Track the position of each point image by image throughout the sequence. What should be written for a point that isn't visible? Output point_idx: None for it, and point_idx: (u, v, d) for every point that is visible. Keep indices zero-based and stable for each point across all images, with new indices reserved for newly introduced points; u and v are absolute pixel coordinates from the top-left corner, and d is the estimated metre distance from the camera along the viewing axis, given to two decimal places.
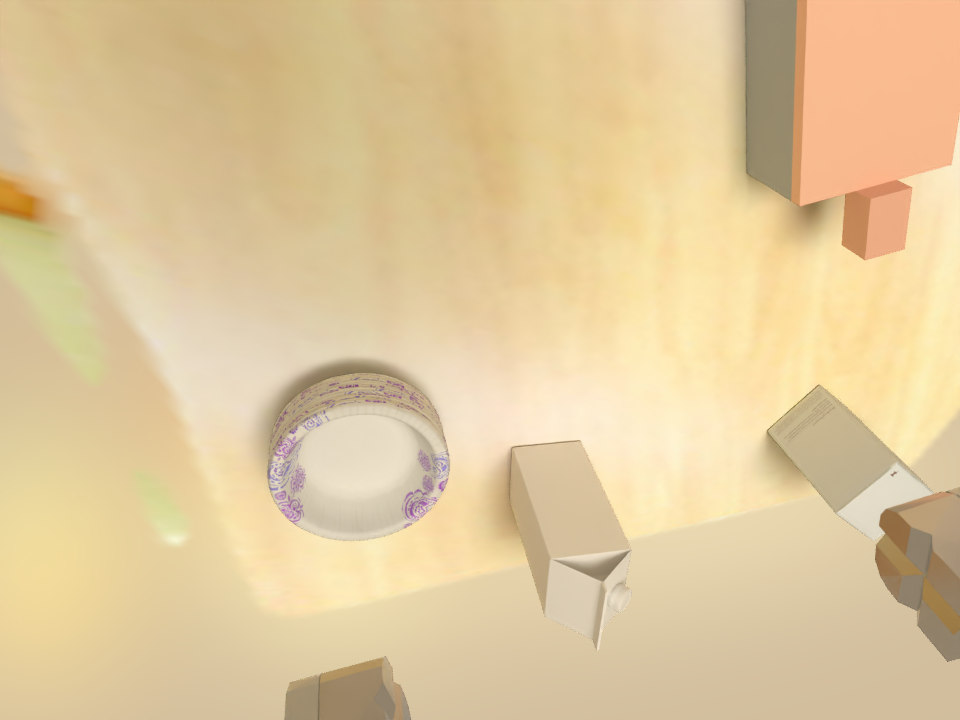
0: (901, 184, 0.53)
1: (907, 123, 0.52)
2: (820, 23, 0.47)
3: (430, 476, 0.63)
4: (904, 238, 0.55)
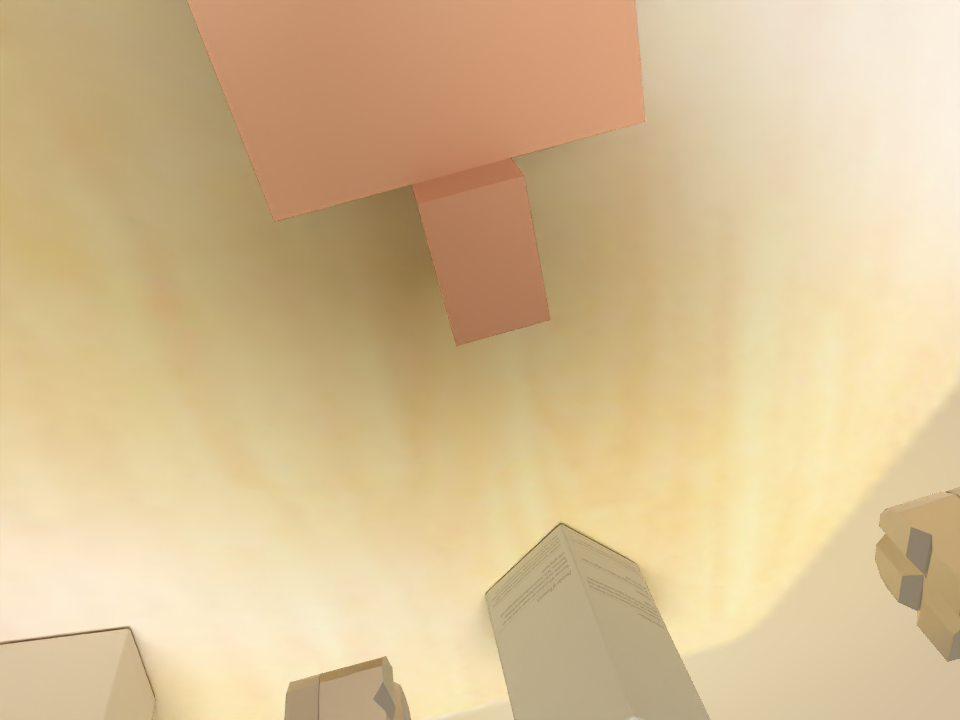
0: (508, 169, 0.22)
1: (495, 12, 0.20)
2: None
3: None
4: (541, 297, 0.23)
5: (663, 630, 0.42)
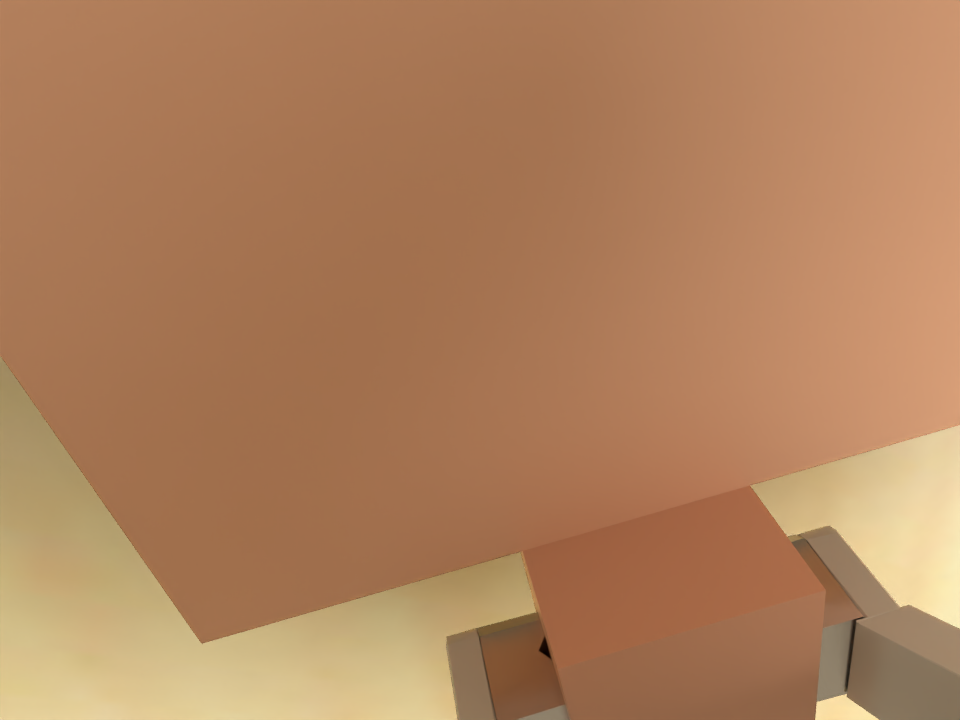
0: (766, 543, 0.09)
1: (780, 189, 0.08)
2: None
3: None
4: None
5: None
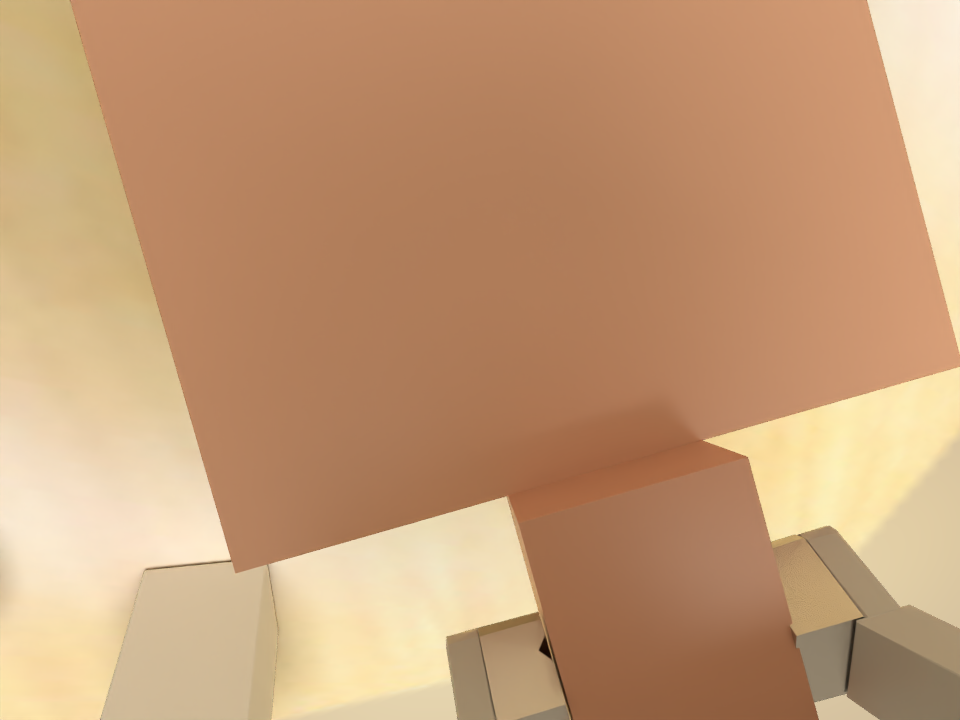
0: (706, 453, 0.11)
1: (654, 180, 0.11)
2: None
3: None
4: None
5: None
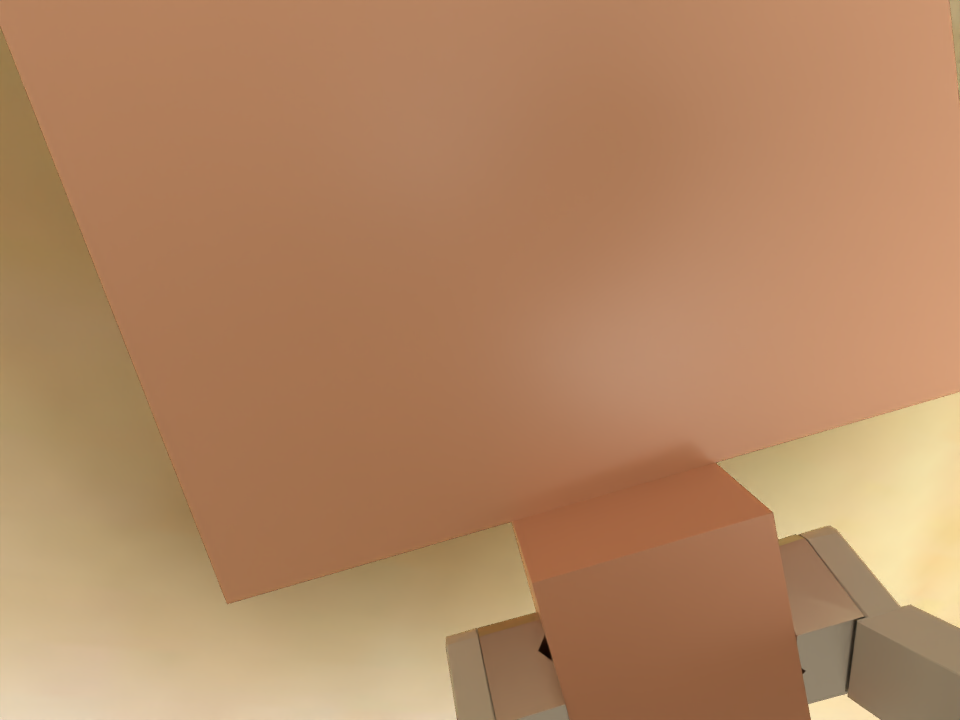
0: (724, 491, 0.10)
1: (685, 183, 0.10)
2: None
3: None
4: None
5: None
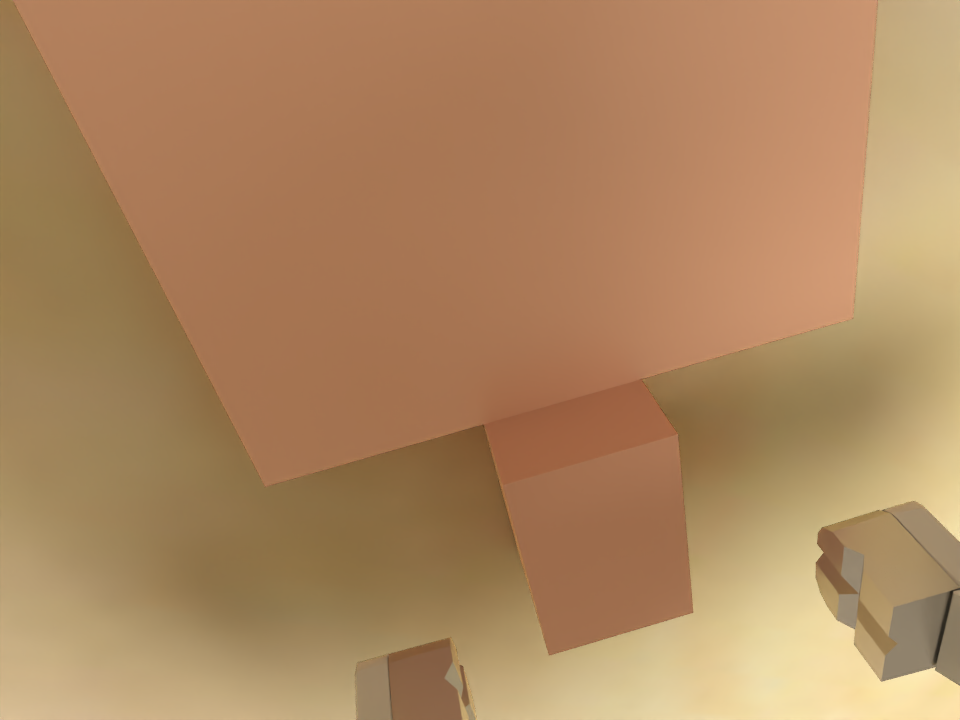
0: (645, 411, 0.13)
1: (638, 172, 0.12)
2: None
3: None
4: (684, 586, 0.15)
5: None
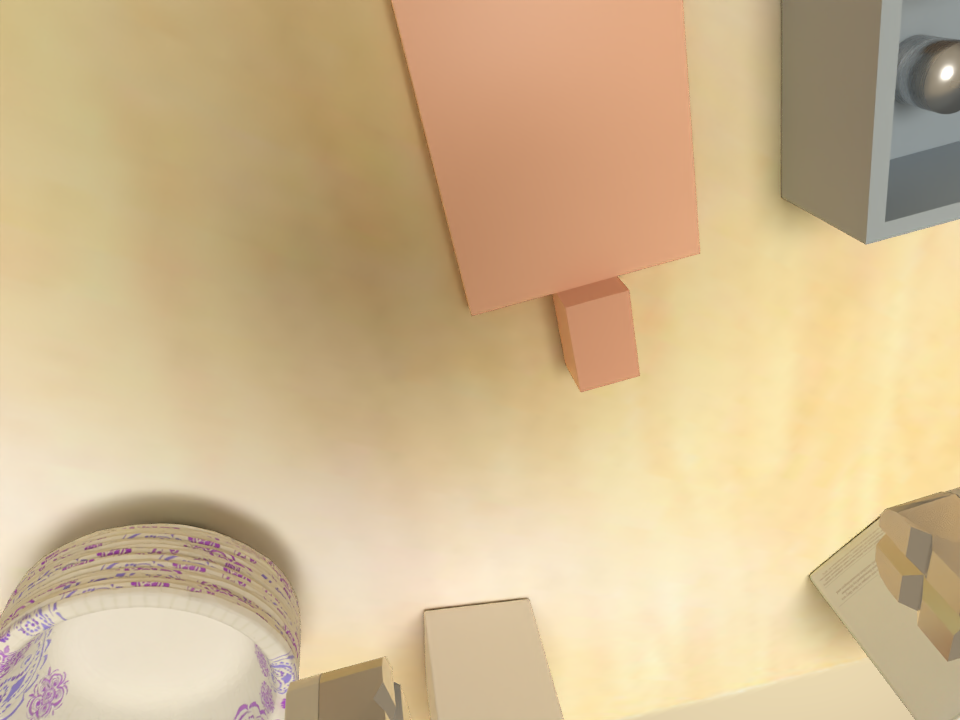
0: (618, 285, 0.36)
1: (613, 196, 0.35)
2: (427, 48, 0.30)
3: (270, 686, 0.39)
4: (635, 361, 0.37)
5: None
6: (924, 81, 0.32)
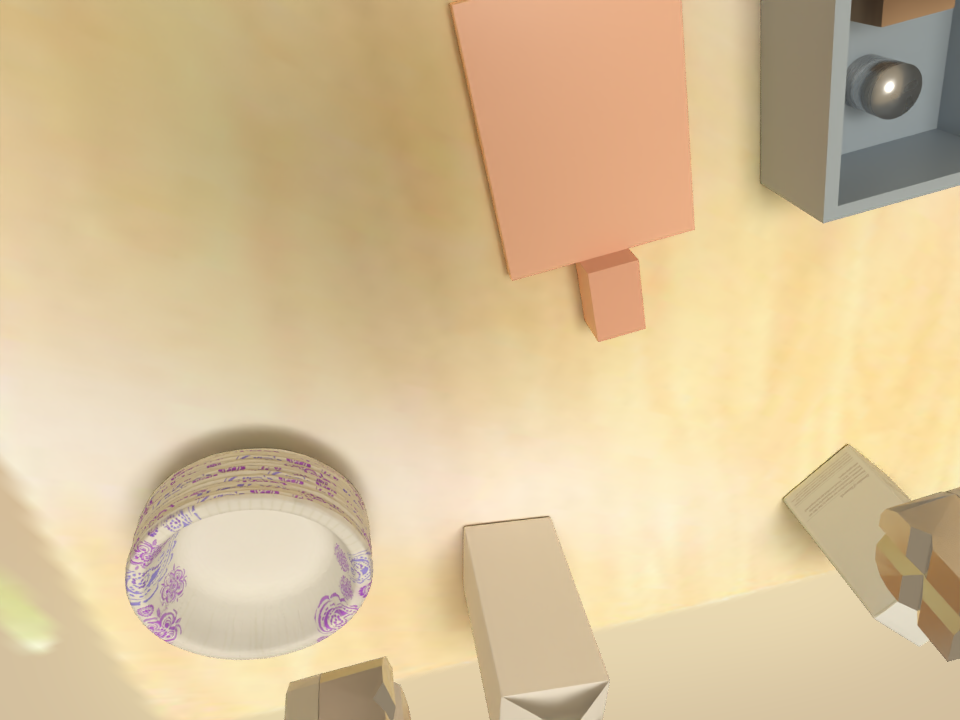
0: (629, 255, 0.45)
1: (626, 184, 0.43)
2: (484, 71, 0.39)
3: (349, 578, 0.49)
4: (642, 317, 0.46)
5: None
6: (871, 94, 0.40)
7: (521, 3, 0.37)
